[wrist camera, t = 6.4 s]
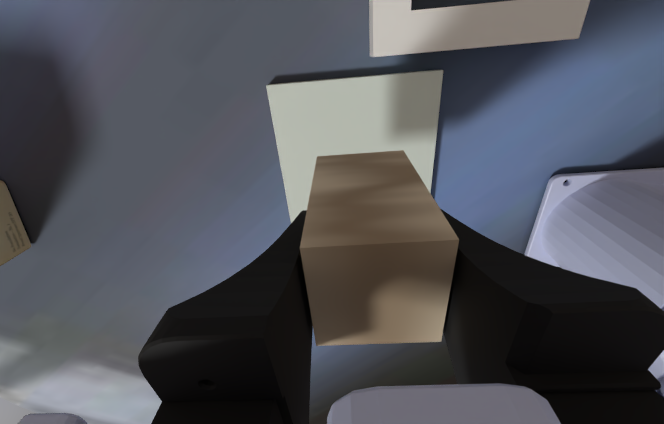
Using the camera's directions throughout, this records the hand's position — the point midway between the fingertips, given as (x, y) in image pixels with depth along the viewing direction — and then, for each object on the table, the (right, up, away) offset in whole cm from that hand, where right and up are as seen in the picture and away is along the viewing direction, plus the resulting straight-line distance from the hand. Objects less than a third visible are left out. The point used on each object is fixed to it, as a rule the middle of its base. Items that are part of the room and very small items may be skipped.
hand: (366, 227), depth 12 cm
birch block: (0, +2, +2) cm, 3 cm away
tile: (0, +4, +7) cm, 8 cm away
